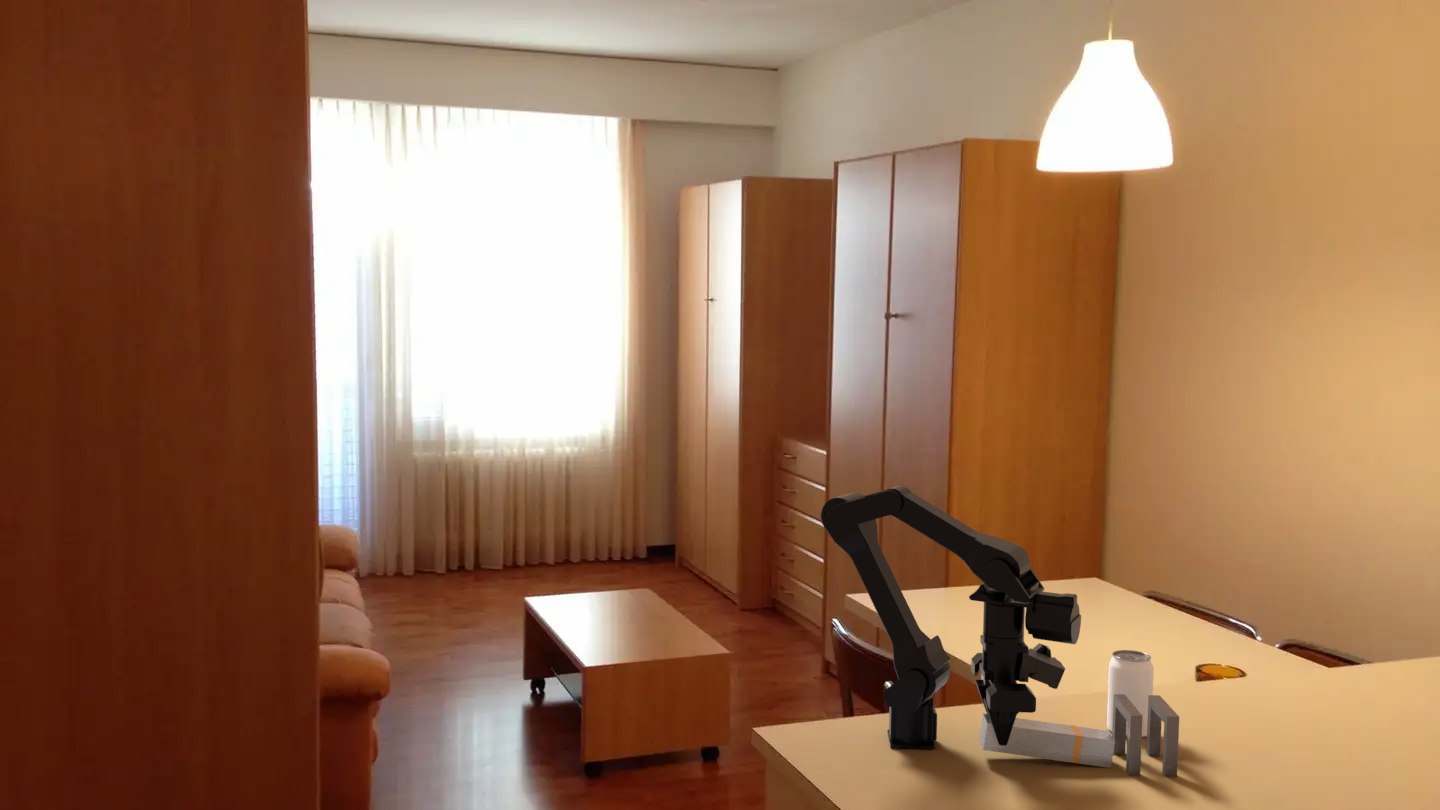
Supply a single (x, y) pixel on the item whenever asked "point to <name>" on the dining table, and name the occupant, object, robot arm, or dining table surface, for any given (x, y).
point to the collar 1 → (1134, 734)
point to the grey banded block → (1052, 742)
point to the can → (1130, 683)
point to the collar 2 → (1165, 713)
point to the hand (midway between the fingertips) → (1000, 739)
